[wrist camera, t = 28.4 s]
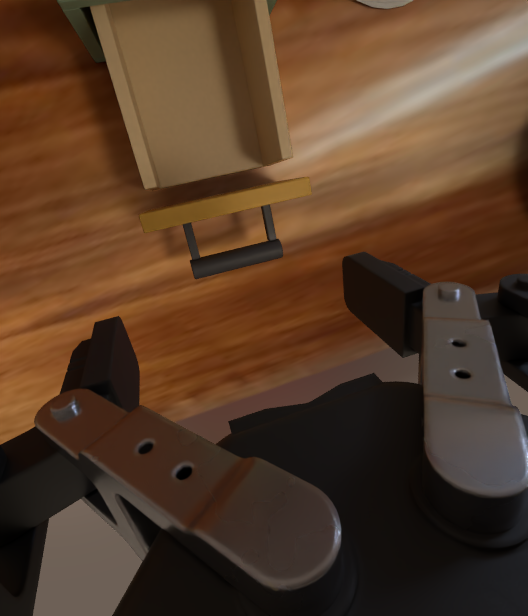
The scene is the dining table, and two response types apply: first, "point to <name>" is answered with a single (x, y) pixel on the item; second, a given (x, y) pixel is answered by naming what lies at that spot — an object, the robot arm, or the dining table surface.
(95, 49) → the cabinet
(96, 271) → the dining table surface
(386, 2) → the chalice
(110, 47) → the drawer
